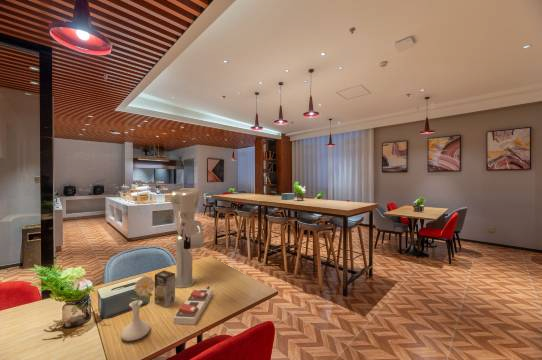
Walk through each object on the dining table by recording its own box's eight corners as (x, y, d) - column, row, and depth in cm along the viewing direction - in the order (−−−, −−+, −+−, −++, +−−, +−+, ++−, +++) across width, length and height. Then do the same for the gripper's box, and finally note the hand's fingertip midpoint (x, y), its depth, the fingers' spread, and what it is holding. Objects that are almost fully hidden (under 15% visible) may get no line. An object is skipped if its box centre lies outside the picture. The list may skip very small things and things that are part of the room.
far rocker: (190, 296, 126) (190, 293, 126) (193, 292, 131) (194, 289, 131) (202, 299, 126) (203, 296, 126) (205, 295, 130) (206, 292, 130)
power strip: (173, 323, 111) (173, 315, 111) (200, 287, 147) (200, 280, 147) (194, 324, 110) (194, 316, 110) (216, 287, 146) (216, 281, 146)
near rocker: (178, 311, 112) (179, 308, 112) (182, 306, 117) (183, 303, 117) (192, 315, 112) (193, 311, 112) (196, 310, 116) (196, 306, 116)
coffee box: (153, 303, 127) (153, 274, 127) (163, 298, 133) (163, 270, 133) (166, 308, 124) (166, 277, 123) (175, 302, 129) (175, 273, 129)
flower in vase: (118, 347, 96) (118, 285, 95) (123, 329, 106) (122, 274, 105) (154, 338, 101) (154, 280, 100) (155, 322, 111) (155, 270, 111)
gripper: (188, 217, 122) (188, 253, 122) (198, 213, 137) (198, 244, 137) (174, 217, 122) (174, 252, 123) (186, 212, 137) (186, 244, 138)
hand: (187, 248), depth 130 cm, fingers closed
